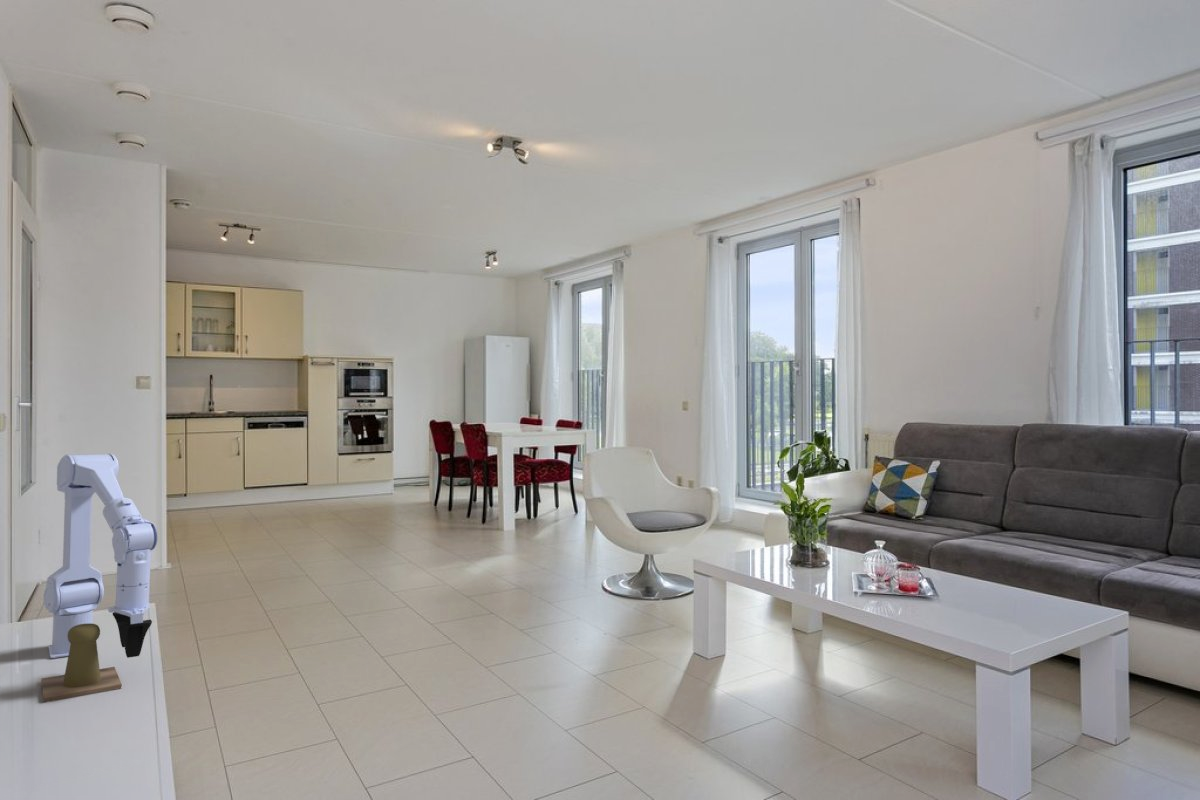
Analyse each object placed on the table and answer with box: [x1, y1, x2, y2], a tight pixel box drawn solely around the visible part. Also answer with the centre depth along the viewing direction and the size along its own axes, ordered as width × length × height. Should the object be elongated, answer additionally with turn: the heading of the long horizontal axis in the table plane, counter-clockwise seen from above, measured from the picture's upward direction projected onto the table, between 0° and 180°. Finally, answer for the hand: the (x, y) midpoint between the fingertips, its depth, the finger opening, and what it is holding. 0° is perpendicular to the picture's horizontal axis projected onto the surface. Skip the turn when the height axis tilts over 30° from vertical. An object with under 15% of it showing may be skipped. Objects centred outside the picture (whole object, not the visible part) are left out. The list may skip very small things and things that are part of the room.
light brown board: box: [40, 666, 123, 703], centre depth 142 cm, size 12×12×1 cm
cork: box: [63, 623, 101, 687], centre depth 142 cm, size 6×6×11 cm
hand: (130, 651), depth 148 cm, fingers open, 7 cm apart
